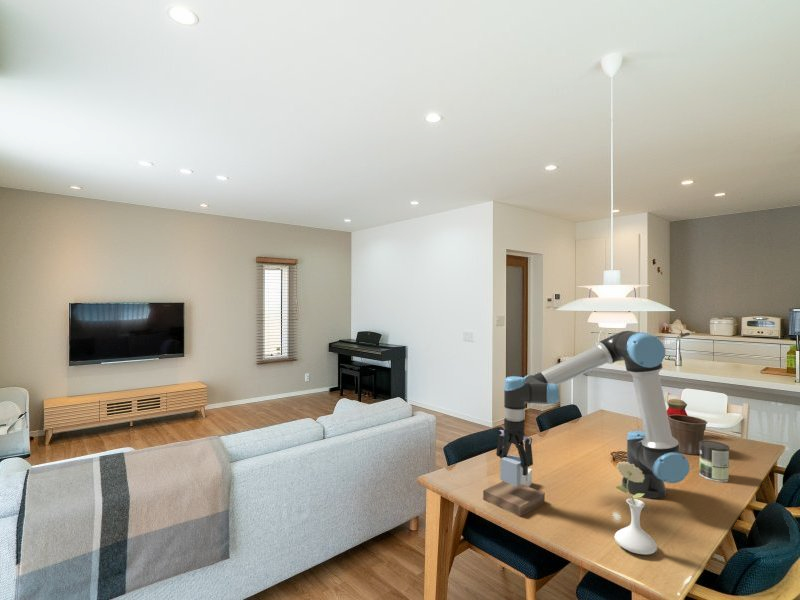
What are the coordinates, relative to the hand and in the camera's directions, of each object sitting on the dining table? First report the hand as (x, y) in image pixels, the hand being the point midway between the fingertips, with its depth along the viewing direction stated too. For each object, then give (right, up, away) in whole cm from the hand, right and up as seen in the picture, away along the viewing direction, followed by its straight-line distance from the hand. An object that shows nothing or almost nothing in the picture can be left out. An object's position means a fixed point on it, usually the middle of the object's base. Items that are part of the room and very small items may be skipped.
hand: (513, 479), depth 155 cm
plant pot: (+103, -9, +54) cm, 116 cm away
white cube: (+7, -8, +14) cm, 18 cm away
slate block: (0, 0, 0) cm, 0 cm away
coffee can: (+92, -9, +23) cm, 96 cm away
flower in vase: (+29, -8, -28) cm, 41 cm away
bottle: (+113, -9, +77) cm, 137 cm away
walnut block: (0, -9, 0) cm, 9 cm away
